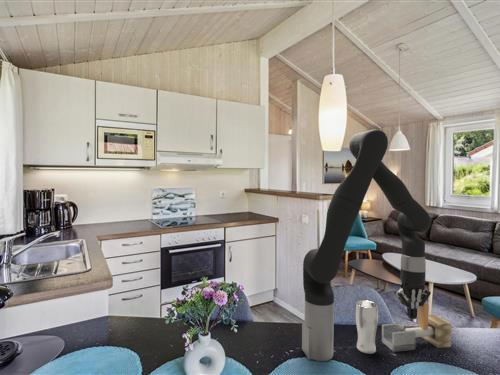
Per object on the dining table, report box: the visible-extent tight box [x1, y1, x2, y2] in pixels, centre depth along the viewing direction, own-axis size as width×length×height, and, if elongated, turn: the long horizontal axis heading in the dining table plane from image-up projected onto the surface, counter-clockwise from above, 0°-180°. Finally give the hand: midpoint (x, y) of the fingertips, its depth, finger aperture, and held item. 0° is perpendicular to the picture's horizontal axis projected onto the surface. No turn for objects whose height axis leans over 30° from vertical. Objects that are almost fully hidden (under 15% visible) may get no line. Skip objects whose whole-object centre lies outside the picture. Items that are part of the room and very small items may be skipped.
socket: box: [421, 313, 452, 349], centre depth 102 cm, size 5×7×8 cm
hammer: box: [404, 302, 435, 338], centre depth 101 cm, size 12×3×12 cm, turn 100°
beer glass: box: [355, 299, 379, 355], centre depth 97 cm, size 7×7×15 cm
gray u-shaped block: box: [381, 322, 417, 353], centre depth 99 cm, size 8×6×6 cm
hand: (412, 318), depth 100 cm, fingers closed
